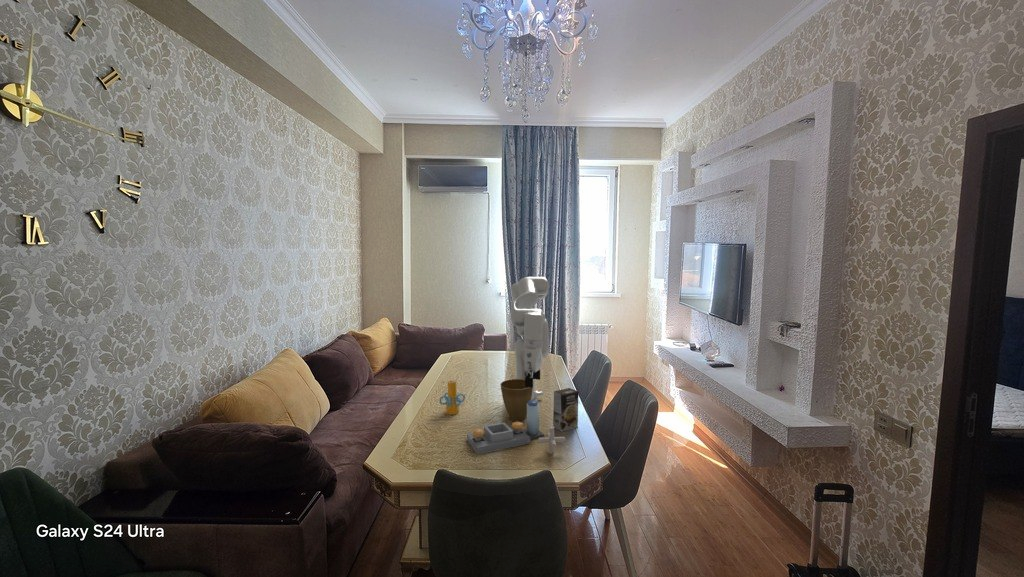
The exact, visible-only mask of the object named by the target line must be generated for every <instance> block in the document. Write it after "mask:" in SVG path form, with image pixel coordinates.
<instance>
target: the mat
mask: <svg viewBox="0 0 1024 577" xmlns="http://www.w3.org/2000/svg"><path fill="white" fill-rule="evenodd" d="M521 430H522V431H524V432H525V433H526V434H527V435H528V436H529V437H530V440H534V439H538V438H545V434H544V432H542V431H541V430H540V429H539V433H538V434H536V435H530V434H528V433H527V429H524V430H523V429H521Z"/></svg>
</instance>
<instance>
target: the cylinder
mask: <svg viewBox="0 0 1024 577" xmlns="http://www.w3.org/2000/svg"><path fill="white" fill-rule="evenodd" d="M460 396H462V400H461V398H460ZM443 398H444V400H445V402H443V401H442V399H443ZM465 399H466V395H465V394H464V393H458V392H457V380H455V379H452V380H451V379H450V380H447V392H445V393H444V395H442V396H441V397H440V398H439V403H440V405H443V406H444V405H445V413H446V415H451V416H452V415H457V414H459V412H460V408H459V407H460V405H461V403H464V401H465Z"/></svg>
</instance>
